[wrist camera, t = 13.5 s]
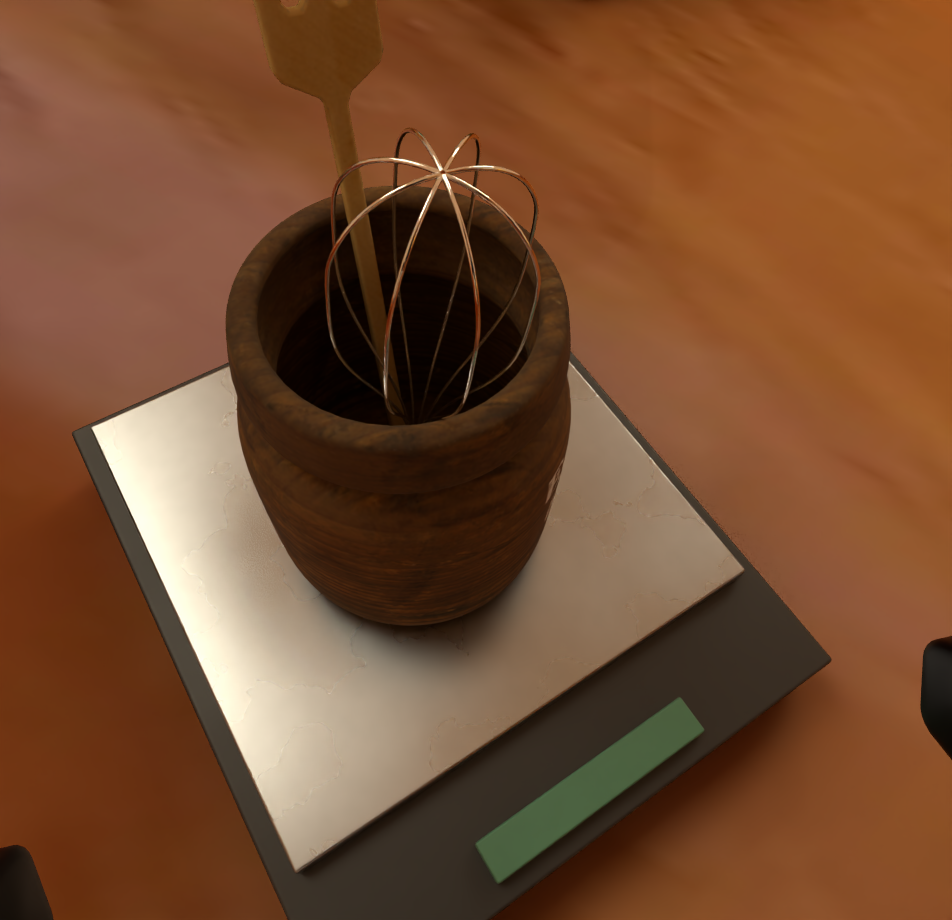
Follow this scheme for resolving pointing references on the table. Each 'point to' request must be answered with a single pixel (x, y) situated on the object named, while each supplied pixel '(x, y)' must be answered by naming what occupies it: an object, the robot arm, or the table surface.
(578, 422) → the kitchen scale
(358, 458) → the utensil holder
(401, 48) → the table surface
